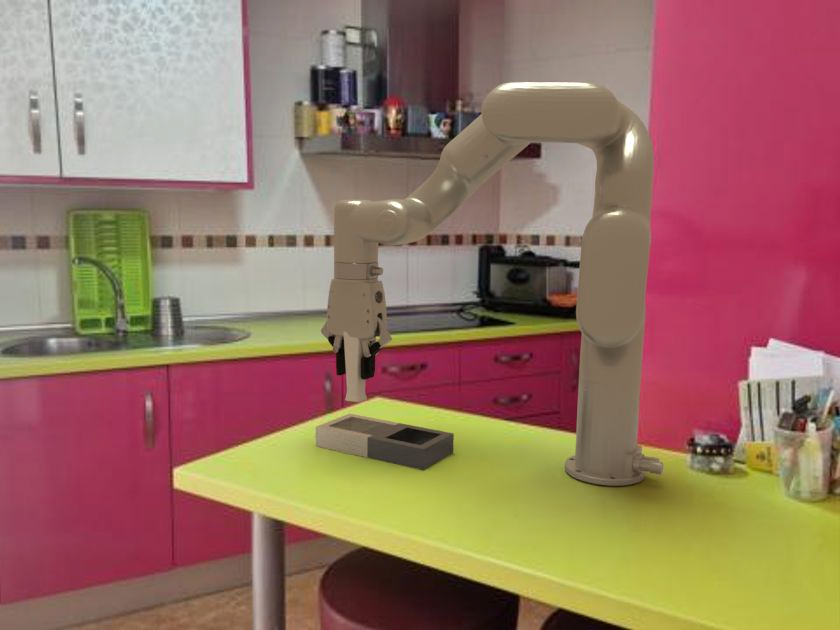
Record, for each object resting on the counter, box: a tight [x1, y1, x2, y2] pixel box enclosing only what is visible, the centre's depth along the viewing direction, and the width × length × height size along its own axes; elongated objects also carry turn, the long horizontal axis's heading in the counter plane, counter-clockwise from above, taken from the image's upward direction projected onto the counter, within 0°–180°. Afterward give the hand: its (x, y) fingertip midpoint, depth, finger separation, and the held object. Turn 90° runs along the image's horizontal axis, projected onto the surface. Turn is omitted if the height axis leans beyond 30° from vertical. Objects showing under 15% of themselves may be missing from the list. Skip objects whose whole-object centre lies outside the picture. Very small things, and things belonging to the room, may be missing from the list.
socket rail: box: [315, 413, 455, 471], centre depth 134 cm, size 22×10×4 cm, turn 59°
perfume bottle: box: [344, 331, 368, 403], centre depth 135 cm, size 5×4×15 cm
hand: (355, 374), depth 135 cm, fingers closed on perfume bottle, 4 cm apart
